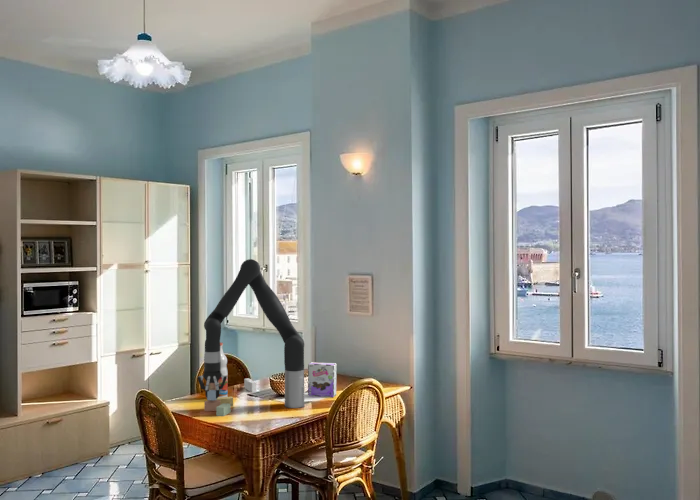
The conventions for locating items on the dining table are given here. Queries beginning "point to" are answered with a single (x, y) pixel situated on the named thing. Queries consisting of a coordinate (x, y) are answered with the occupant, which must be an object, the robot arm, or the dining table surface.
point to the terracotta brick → (211, 405)
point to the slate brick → (211, 395)
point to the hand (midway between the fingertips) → (212, 397)
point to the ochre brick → (226, 400)
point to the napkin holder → (250, 385)
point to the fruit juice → (224, 390)
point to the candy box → (322, 379)
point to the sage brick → (223, 409)
